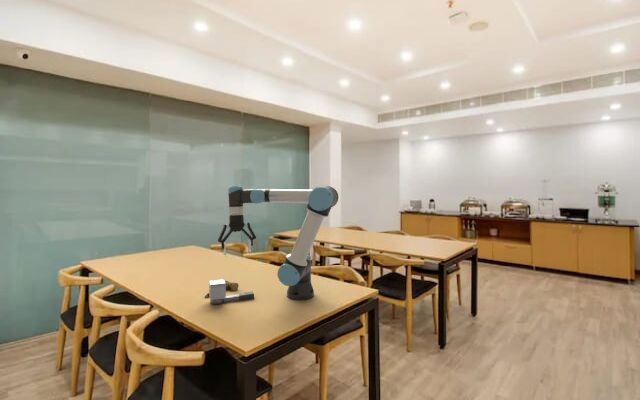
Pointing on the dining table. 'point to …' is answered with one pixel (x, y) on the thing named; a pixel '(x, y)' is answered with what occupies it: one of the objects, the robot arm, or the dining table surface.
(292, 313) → the dining table surface
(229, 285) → the gavel
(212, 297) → the brushed metal cube
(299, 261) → the robot arm
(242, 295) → the ratchet
